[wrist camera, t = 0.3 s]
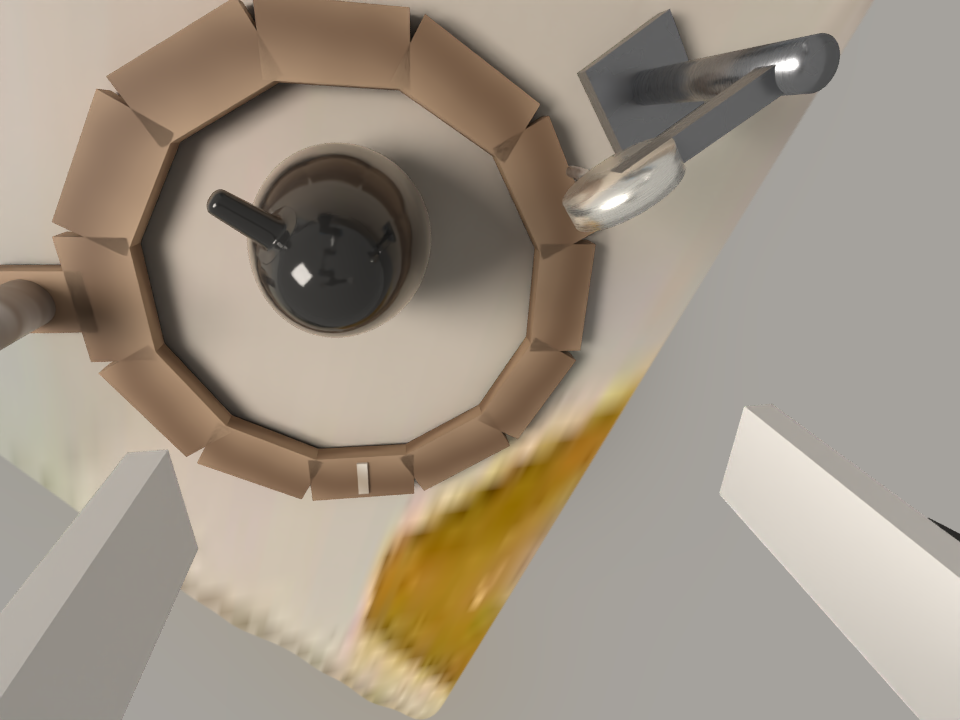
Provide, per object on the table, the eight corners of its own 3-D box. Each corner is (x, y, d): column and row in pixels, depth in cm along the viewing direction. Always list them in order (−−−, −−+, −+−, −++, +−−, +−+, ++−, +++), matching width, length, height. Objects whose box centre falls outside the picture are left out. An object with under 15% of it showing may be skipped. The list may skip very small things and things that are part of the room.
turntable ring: (-116, -36, 24) (-341, -107, 17) (617, 31, 31) (691, 2, 23) (83, 504, 39) (10, 596, 31) (555, 472, 45) (588, 542, 38)
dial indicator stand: (657, 13, 31) (897, -84, 16) (691, 103, 34) (924, 88, 19) (481, 144, 33) (556, 161, 18) (526, 220, 35) (625, 289, 21)
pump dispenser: (327, 100, 30) (278, 80, 17) (456, 213, 34) (500, 271, 21) (236, 230, 33) (127, 305, 19) (366, 322, 37) (354, 438, 23)
